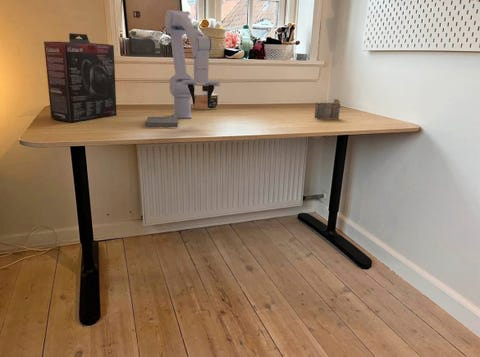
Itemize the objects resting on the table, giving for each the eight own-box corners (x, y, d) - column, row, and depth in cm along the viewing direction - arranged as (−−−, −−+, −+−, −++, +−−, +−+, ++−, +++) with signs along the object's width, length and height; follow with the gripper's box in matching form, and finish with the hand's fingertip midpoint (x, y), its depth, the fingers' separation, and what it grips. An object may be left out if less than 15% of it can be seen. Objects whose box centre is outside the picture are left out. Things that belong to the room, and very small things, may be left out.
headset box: (98, 112, 175) (92, 34, 164) (119, 115, 169) (114, 35, 158) (50, 119, 154) (39, 31, 143) (72, 123, 149) (62, 32, 138)
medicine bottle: (206, 109, 194) (207, 85, 190) (198, 107, 198) (198, 83, 194) (217, 108, 198) (218, 84, 194) (209, 106, 203) (209, 83, 199)
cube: (194, 106, 156) (194, 94, 154) (206, 107, 157) (206, 94, 155) (194, 109, 151) (194, 96, 150) (207, 109, 152) (207, 96, 151)
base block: (148, 122, 159) (147, 116, 158) (177, 123, 161) (177, 117, 160) (145, 128, 148) (145, 122, 147) (177, 129, 150) (177, 122, 149)
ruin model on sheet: (335, 118, 187) (338, 98, 184) (338, 119, 184) (341, 99, 181) (313, 118, 184) (315, 98, 181) (316, 119, 182) (318, 99, 178)
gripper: (182, 69, 144) (182, 105, 149) (220, 70, 147) (219, 106, 151) (182, 67, 151) (182, 102, 155) (219, 69, 153) (218, 103, 158)
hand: (200, 104), depth 154 cm, fingers closed on cube, 5 cm apart
